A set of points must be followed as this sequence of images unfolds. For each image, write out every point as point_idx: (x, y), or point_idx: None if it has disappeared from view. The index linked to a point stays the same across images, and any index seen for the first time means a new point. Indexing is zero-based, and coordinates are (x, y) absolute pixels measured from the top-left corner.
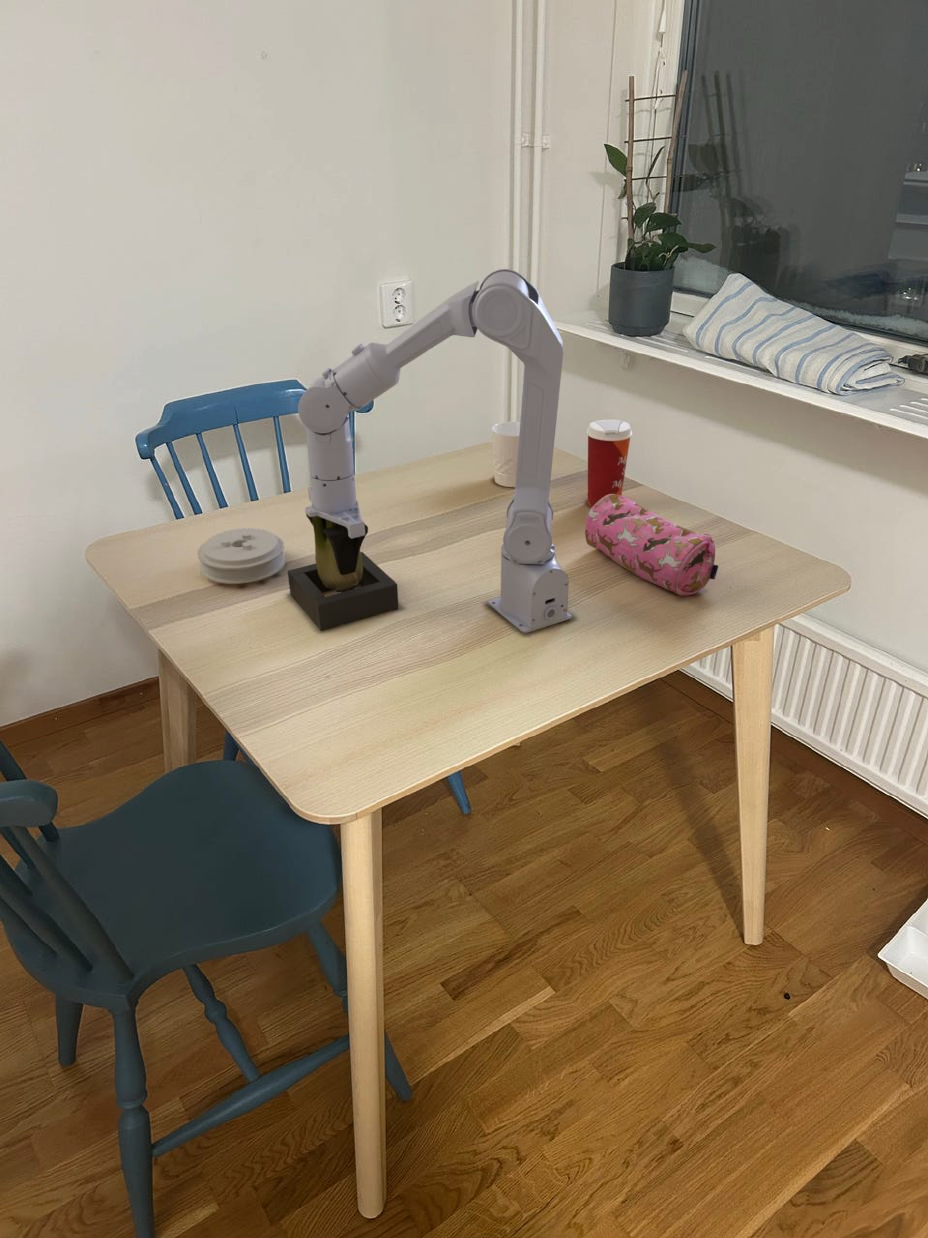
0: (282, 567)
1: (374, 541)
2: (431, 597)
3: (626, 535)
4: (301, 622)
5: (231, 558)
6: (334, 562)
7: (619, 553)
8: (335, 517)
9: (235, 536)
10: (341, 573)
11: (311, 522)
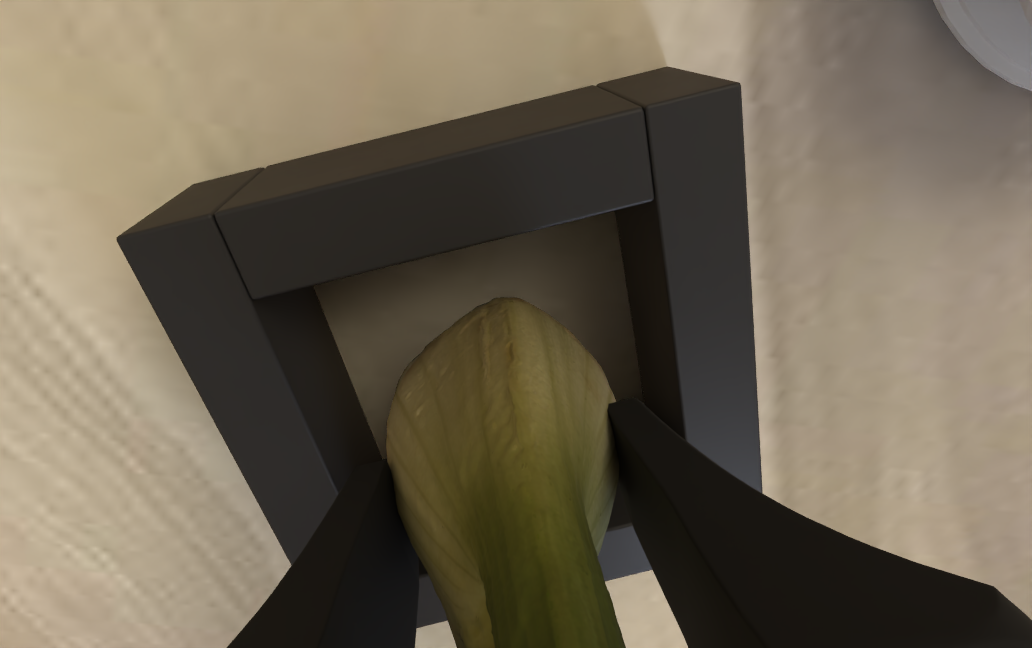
0: (980, 62)
1: (986, 517)
2: (422, 641)
3: None
4: (320, 86)
5: None
6: (410, 487)
7: None
8: None
9: None
10: (350, 476)
11: (864, 576)
